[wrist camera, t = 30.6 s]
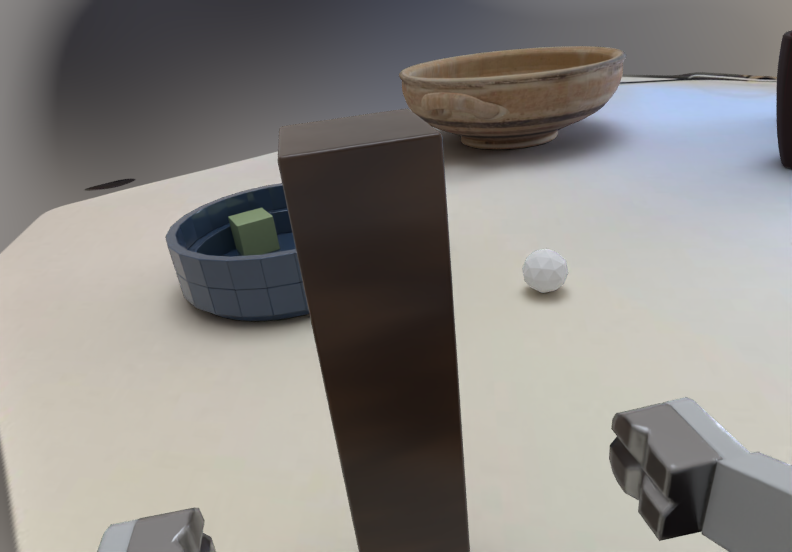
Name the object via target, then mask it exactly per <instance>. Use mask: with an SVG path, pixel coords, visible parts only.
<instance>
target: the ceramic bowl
mask: <svg viewBox="0 0 792 552" xmlns="http://www.w3.org/2000/svg"><path fill="white" fill-rule="evenodd" d="M625 58H626V54H625V52H624V51H621V50H618V49H613V48H606V47H588V46H587V47H586V46H585V47H584V46H583V47H582V46H581V47H580V46H577V47H576V46H573V47H544V48H529V49H517V50H505V51H495V52H486V53H478V54H472V55H464V56H457V57H451V58H445V59H440V60H434V61H429V62H425V63H421V64H417V65H414V66H411V67H409V68H406V69H404V70H402V71H401V73H400V74H399V76H400V79H401V80H402V90H403V94H404V97H405V100H406V102H407V104H408V106H409V108H410V109H411V111H412V112H413V113H415V114H416V115H417V116H419V117H420V118H421V119H423V120H424V121H425V122H426V123H428V124H429V125H430V126H432V127H434V128H437V129H440V130H443V131H446V132H449V133H453V134H456V135H459V136H461V141H462V143H463V144H465V145H467V146H469V147H474V148H480V149H496V150H500V149H517V148H526V147H532V146H537V145H541V144H544V143H547V142H550V141H552V140H553V139H555V138H556V137H557V135H558V132H557V130H559V129H561V128H564V127H566V126H568V125H571V124H573V123H576V122H578V121H580V120H583V119H585V118H586V117H588V116H590V115H591V114H593V113H595V112H597V111H598V110H599V109H601V108H602V107H603V106H604V105H605V104H606V103H607V102H608V100H609V99H610V98H611V97H612V96H613V94H614V93H615V91H616V90H617V88H618V86H619V84H620V81H621V78H622V74H623V61H624V59H625Z"/></svg>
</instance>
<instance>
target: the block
mask: <svg viewBox="0 0 792 552" xmlns="http://www.w3.org/2000/svg"><path fill="white" fill-rule="evenodd" d="M228 219H229V223H230V227H231V231H232V234H233V238H234V242H235V246H236V249H237V250H238V251H239V252H240V253H241V255H242V256H248V255H263V254H266V253H269V252H272V251H276V250H279V249H280V246H279V242H278V237H277V233H276V228H275V224H274V219H273V216H272V215H270V214H269V213H268V212H267V211H265V210H264V209H263V208H258V209H254V210H251V211H247V212H243V213H240V214H236V215H232V216H228Z"/></svg>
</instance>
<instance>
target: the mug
mask: <svg viewBox="0 0 792 552" xmlns="http://www.w3.org/2000/svg"><path fill="white" fill-rule="evenodd" d="M777 137H778V146H779V153H780V159H781V163H782V164H783V165H784V167H786V168H791V169H792V31H789V32H786V33H785V34H784V35H783V38H782V43H781V49H780V56H779V63H778V73H777Z"/></svg>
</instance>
